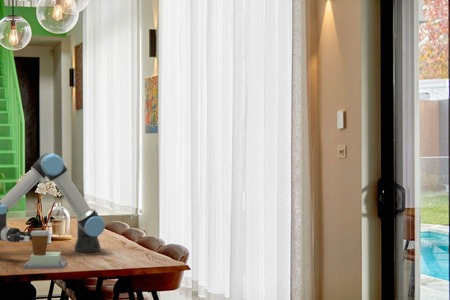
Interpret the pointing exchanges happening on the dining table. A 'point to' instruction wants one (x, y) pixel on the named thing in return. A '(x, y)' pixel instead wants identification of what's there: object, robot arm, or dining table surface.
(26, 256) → the dining table surface
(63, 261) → the tower base
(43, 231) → the disposable coffee cup
